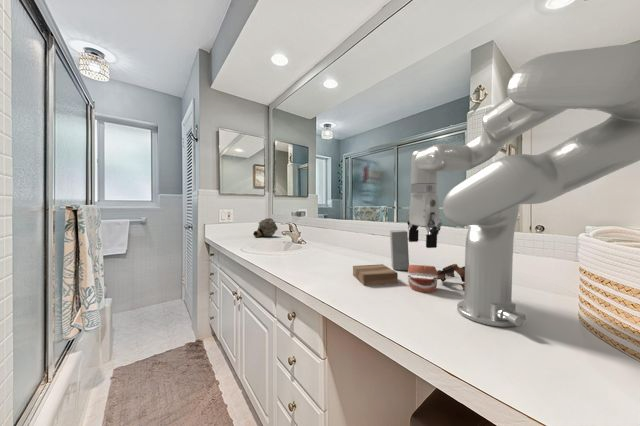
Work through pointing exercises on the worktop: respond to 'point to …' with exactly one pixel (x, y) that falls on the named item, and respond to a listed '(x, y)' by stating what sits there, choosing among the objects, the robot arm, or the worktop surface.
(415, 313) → the worktop surface
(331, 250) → the worktop surface
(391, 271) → the walnut base
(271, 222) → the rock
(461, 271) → the dark brown jagged part
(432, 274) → the dentures
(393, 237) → the skincare box
